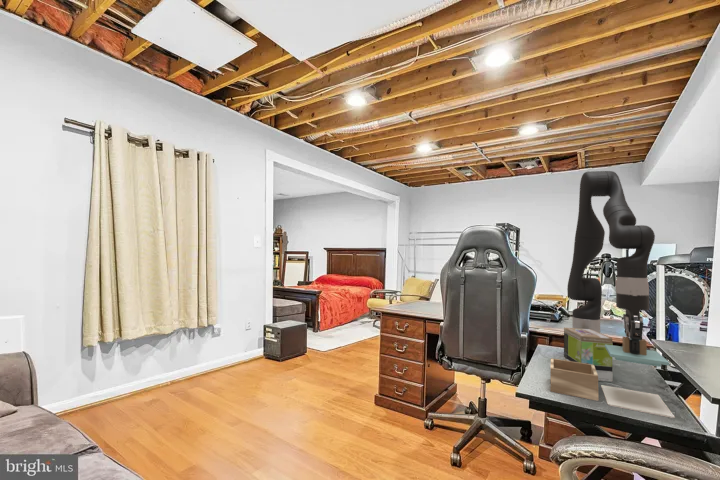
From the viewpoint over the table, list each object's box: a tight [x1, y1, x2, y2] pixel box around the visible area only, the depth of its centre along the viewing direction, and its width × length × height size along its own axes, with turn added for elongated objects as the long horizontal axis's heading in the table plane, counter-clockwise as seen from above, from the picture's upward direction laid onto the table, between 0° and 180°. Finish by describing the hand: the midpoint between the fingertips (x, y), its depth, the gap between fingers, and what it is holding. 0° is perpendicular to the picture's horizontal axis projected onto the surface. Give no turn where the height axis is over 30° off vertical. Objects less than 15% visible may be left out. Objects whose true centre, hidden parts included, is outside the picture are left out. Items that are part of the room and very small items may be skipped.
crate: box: [550, 358, 599, 401], centre depth 104 cm, size 12×12×7 cm
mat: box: [600, 384, 676, 419], centre depth 97 cm, size 16×14×1 cm
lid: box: [605, 336, 670, 368], centre depth 97 cm, size 13×13×6 cm
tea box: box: [563, 327, 614, 382], centre depth 119 cm, size 15×10×15 cm
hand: (633, 351), depth 97 cm, fingers closed on lid, 3 cm apart
